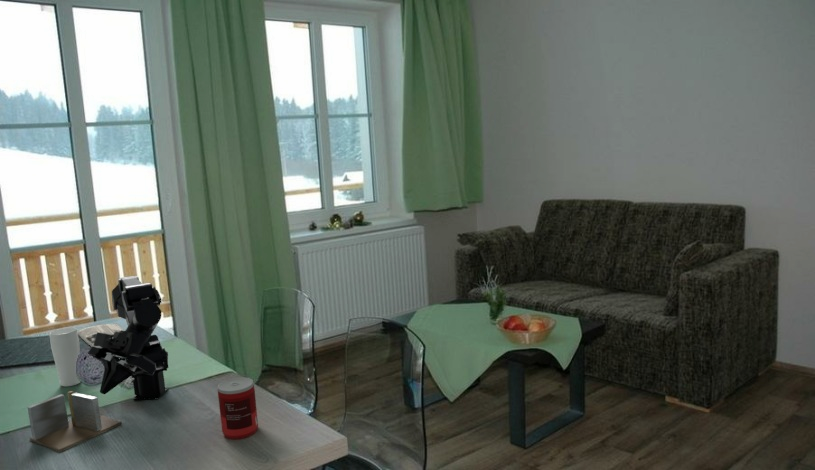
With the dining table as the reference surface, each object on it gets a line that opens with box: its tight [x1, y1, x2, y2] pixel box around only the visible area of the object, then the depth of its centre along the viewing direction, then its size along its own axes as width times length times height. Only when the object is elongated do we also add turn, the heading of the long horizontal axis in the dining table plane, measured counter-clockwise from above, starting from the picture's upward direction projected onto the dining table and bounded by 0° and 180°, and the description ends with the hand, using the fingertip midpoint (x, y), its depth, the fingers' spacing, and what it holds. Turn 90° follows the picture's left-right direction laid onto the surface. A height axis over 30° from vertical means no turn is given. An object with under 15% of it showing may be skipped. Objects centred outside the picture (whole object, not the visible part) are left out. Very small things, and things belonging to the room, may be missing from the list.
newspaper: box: [77, 323, 125, 347], centre depth 212 cm, size 35×12×4 cm, turn 39°
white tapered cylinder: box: [49, 326, 81, 388], centre depth 175 cm, size 7×7×15 cm
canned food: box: [217, 376, 259, 440], centre depth 140 cm, size 8×8×11 cm
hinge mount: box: [27, 390, 122, 453], centre depth 145 cm, size 14×12×9 cm
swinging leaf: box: [71, 392, 102, 431], centre depth 145 cm, size 8×1×8 cm, turn 62°
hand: (102, 393), depth 149 cm, fingers closed
